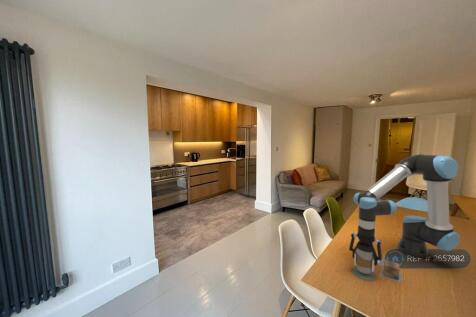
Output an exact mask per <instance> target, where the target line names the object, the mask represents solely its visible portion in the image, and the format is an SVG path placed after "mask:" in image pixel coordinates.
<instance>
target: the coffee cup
mask: <svg viewBox="0 0 476 317" xmlns="http://www.w3.org/2000/svg"><path fill="white" fill-rule="evenodd" d="M358 242H359V240H358V241H357V243H356V245H357V246H356V245H355V247H357V250H356V252H357V264H356V267H357V269H358V270H359V271H360V272H361V273H364V274H369V273H370V272H371V271H372V260H373V250H374V249H375V247H369V245H367V244H363V243H362V242H361V244H359V243H358ZM372 248H373V249H372Z"/></svg>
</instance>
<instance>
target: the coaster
mask: <svg viewBox="0 0 476 317" xmlns="http://www.w3.org/2000/svg"><path fill="white" fill-rule="evenodd" d="M351 272H352V274H353V275H354V276H355V277H356V278H358V279H361V280H362V281H366V282H367V281H369V282H373V281H375V280H376V279H377V277H376V274H375V273H374V272H372V270H371V272H370V273H369V274H364V273H361V272H360V271H359V270H358V269H357V266H354V267H353V268H352V269H351Z"/></svg>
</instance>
